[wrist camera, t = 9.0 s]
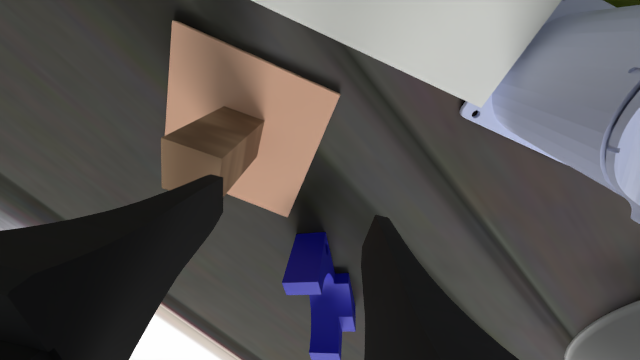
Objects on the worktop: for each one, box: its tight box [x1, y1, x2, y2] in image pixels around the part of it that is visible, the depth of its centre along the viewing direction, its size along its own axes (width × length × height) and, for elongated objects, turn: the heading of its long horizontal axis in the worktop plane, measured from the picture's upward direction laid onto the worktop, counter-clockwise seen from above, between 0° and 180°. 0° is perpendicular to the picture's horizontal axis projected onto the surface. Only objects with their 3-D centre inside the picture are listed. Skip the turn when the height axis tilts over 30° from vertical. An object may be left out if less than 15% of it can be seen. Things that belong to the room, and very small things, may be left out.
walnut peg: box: [161, 106, 265, 197], centre depth 16 cm, size 3×3×7 cm
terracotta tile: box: [165, 20, 340, 217], centre depth 20 cm, size 12×12×1 cm
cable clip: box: [282, 232, 355, 360], centre depth 25 cm, size 12×4×6 cm, turn 11°
